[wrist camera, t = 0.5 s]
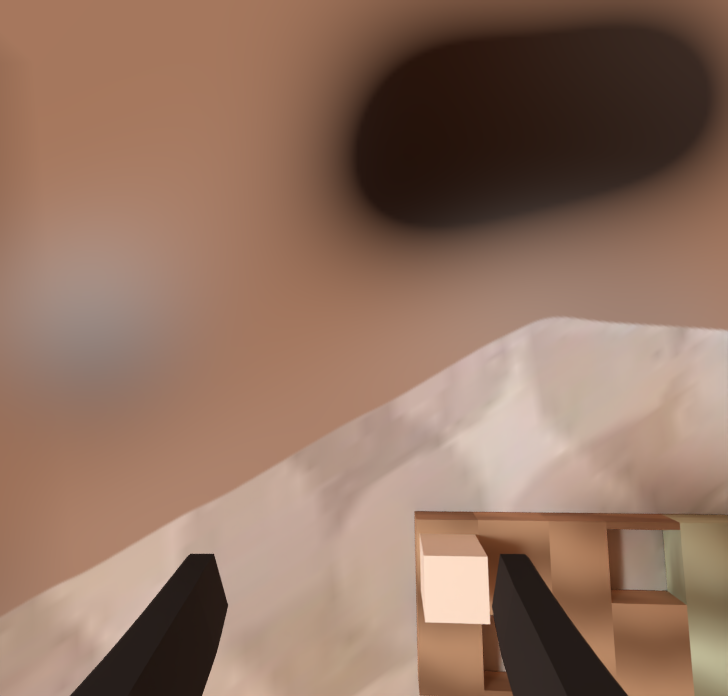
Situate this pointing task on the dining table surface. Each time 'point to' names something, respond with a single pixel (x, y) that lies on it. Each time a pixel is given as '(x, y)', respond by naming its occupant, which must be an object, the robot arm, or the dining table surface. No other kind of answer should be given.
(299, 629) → the dining table surface
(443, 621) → the block
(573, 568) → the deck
